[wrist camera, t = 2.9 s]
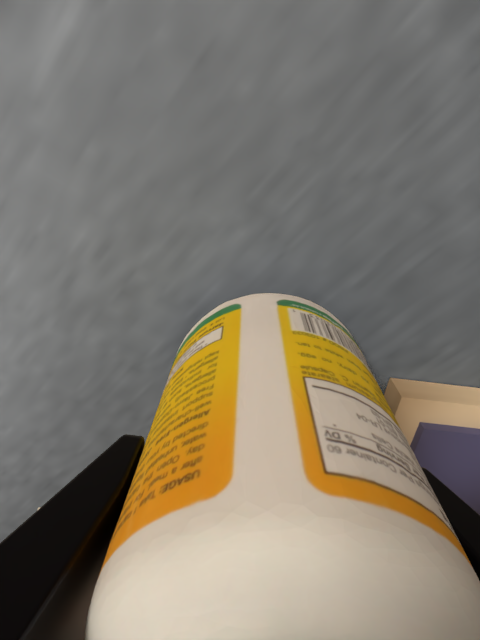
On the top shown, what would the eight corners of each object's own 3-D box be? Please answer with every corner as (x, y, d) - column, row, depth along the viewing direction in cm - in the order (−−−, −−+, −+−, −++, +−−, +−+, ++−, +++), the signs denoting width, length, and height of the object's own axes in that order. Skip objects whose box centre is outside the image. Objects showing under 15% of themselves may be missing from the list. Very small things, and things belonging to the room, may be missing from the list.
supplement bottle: (361, 279, 10) (1121, 1198, 1) (354, 438, 12) (619, 1165, 4) (158, 295, 10) (-324, 1140, 2) (188, 448, 13) (55, 1143, 4)
